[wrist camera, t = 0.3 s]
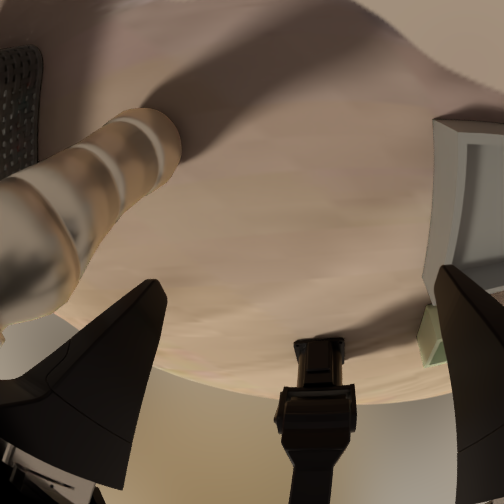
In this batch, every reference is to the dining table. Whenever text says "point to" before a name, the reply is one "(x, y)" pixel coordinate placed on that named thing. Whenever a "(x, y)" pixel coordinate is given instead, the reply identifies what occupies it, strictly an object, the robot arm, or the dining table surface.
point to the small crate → (431, 339)
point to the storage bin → (19, 107)
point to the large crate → (467, 203)
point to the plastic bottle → (76, 208)
